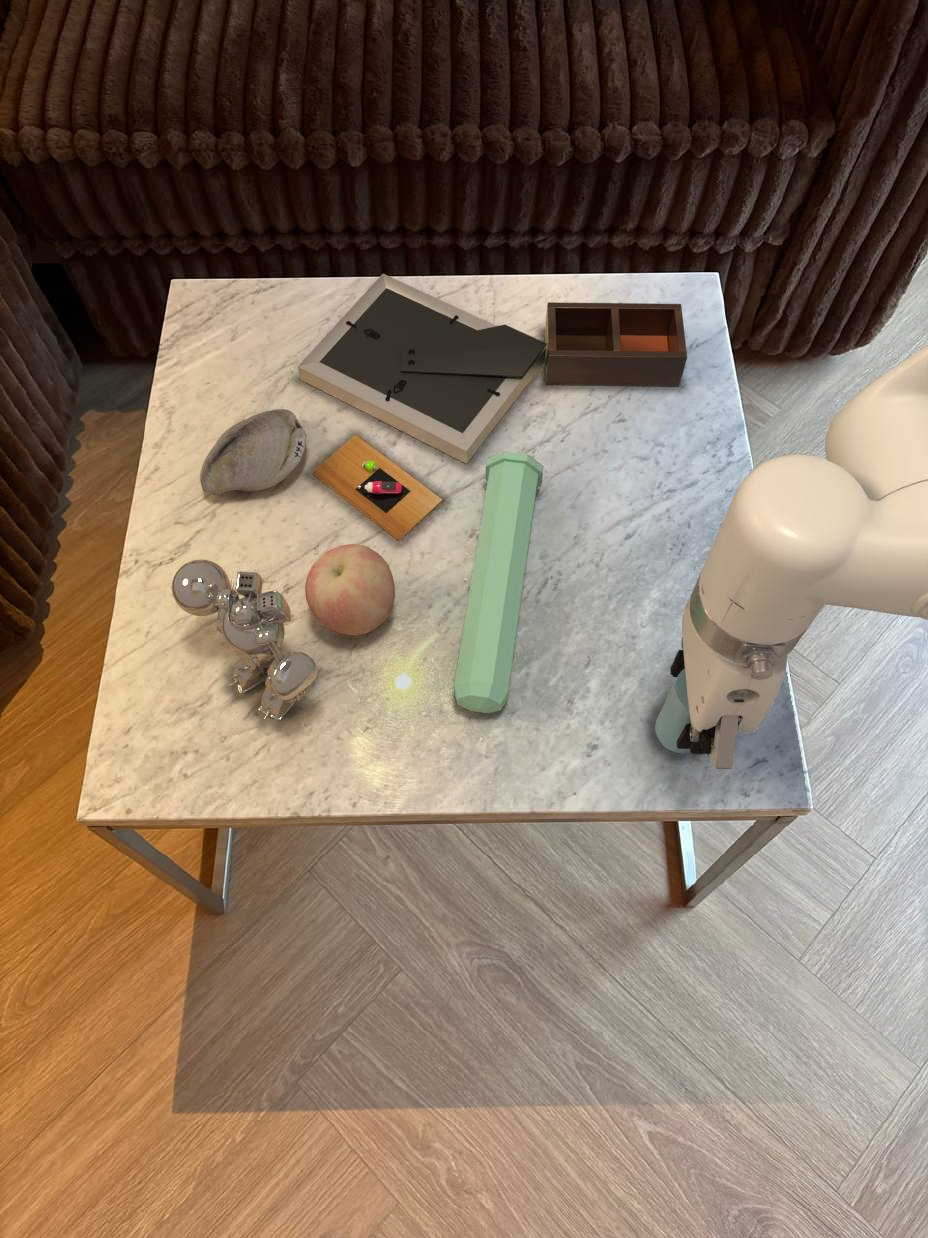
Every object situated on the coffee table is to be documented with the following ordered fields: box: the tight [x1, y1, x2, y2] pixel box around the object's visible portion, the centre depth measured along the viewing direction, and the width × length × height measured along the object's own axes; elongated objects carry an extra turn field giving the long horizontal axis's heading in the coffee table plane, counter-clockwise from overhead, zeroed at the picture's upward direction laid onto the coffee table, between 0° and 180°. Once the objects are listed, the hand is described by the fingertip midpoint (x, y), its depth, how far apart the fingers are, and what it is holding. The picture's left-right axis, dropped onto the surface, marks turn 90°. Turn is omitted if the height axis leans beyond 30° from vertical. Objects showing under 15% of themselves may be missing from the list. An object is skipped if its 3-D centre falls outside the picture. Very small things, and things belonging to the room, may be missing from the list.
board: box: [311, 434, 444, 542], centre depth 93 cm, size 6×12×2 cm, turn 48°
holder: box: [544, 301, 688, 388], centre depth 99 cm, size 7×14×4 cm, turn 89°
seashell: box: [199, 408, 308, 496], centre depth 93 cm, size 12×8×5 cm
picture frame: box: [297, 273, 547, 465], centre depth 99 cm, size 16×3×21 cm
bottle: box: [654, 669, 692, 755], centre depth 77 cm, size 4×4×10 cm
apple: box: [304, 543, 396, 636], centre depth 84 cm, size 8×8×8 cm
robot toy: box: [171, 559, 318, 721], centre depth 78 cm, size 15×6×15 cm, turn 46°
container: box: [453, 450, 544, 714], centre depth 86 cm, size 6×6×25 cm
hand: (692, 708), depth 77 cm, fingers open, 5 cm apart
